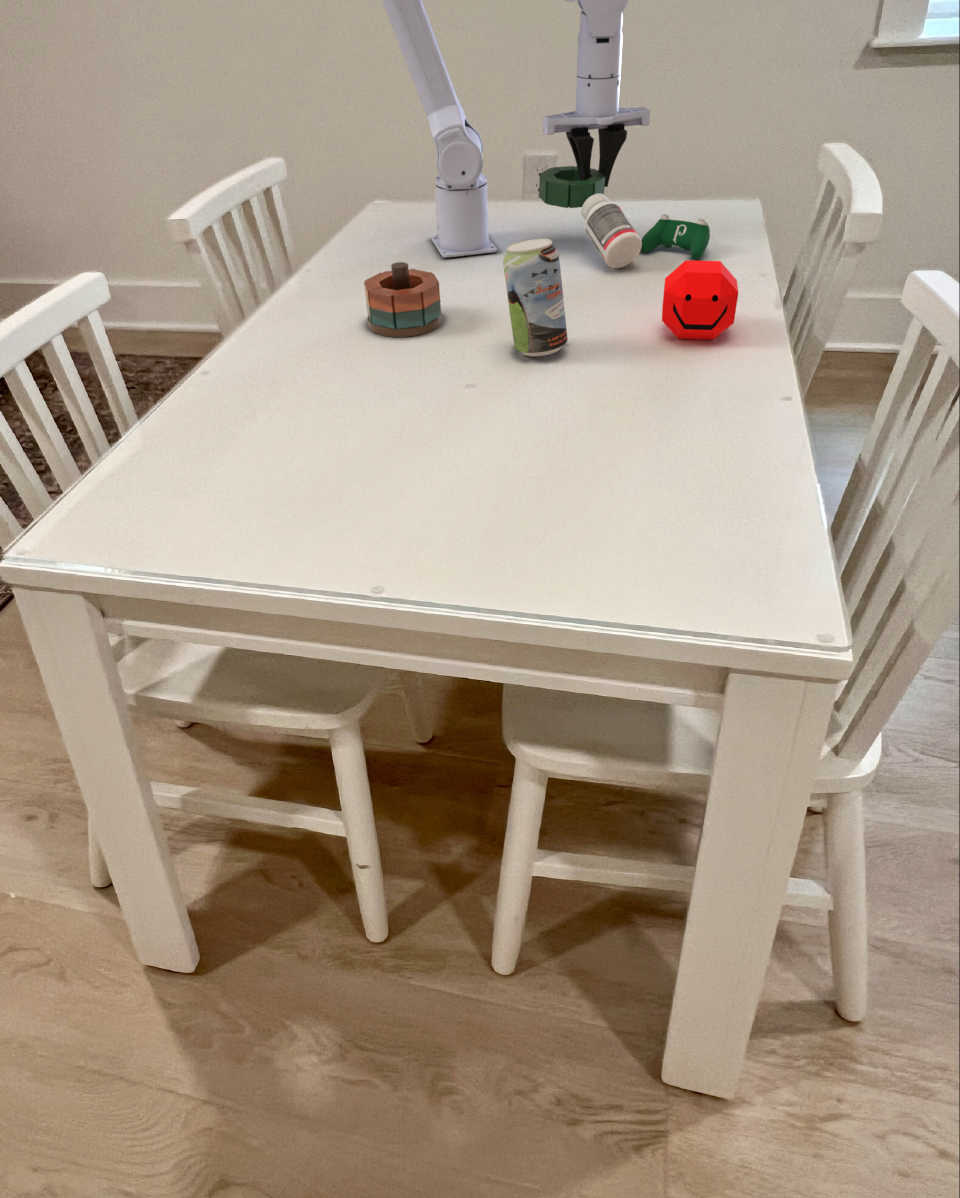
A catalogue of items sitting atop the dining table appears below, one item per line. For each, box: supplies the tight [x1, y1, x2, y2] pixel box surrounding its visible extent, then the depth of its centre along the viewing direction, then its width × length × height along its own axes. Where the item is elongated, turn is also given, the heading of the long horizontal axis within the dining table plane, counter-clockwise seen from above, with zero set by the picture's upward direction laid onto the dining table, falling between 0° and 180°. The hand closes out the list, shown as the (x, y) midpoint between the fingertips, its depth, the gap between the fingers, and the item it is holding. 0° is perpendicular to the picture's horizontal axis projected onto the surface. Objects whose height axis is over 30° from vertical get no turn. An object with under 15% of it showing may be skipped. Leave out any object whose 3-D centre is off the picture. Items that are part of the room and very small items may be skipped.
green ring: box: [538, 165, 606, 209], centre depth 124 cm, size 9×9×3 cm
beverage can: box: [502, 238, 568, 357], centre depth 97 cm, size 6×7×12 cm
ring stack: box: [363, 261, 442, 338], centre depth 107 cm, size 9×9×7 cm
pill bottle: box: [580, 193, 642, 269], centre depth 120 cm, size 5×5×10 cm
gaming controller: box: [640, 213, 711, 261], centre depth 124 cm, size 9×4×6 cm
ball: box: [661, 259, 739, 341], centre depth 101 cm, size 8×8×8 cm
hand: (593, 186), depth 125 cm, fingers closed on green ring, 2 cm apart
